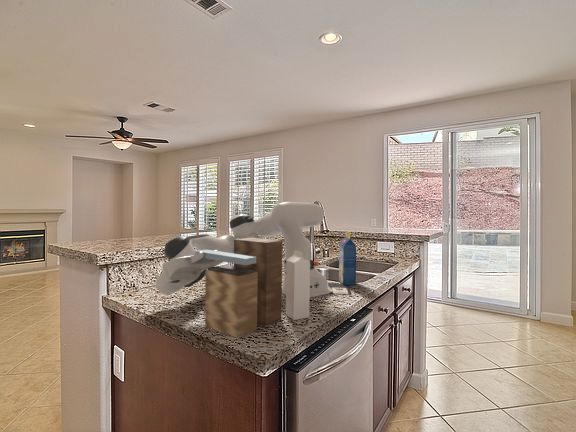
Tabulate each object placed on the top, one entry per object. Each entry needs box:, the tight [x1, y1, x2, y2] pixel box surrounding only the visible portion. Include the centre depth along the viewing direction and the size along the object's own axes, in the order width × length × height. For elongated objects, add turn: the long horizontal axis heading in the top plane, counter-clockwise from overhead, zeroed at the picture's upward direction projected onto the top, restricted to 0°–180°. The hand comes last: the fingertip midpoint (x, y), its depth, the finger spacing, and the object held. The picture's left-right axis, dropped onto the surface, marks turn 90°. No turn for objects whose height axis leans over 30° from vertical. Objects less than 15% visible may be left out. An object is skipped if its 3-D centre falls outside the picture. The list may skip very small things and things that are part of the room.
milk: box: [285, 250, 311, 321], centre depth 106 cm, size 6×6×22 cm
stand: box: [233, 237, 283, 328], centre depth 103 cm, size 14×8×26 cm, turn 55°
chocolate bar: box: [327, 282, 352, 295], centre depth 142 cm, size 9×1×18 cm
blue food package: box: [338, 231, 357, 285], centre depth 153 cm, size 6×12×25 cm, turn 0°
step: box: [204, 264, 258, 339], centre depth 95 cm, size 14×8×18 cm, turn 55°
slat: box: [195, 249, 256, 265], centre depth 96 cm, size 22×4×2 cm, turn 55°
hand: (210, 253), depth 100 cm, fingers closed on slat, 4 cm apart
